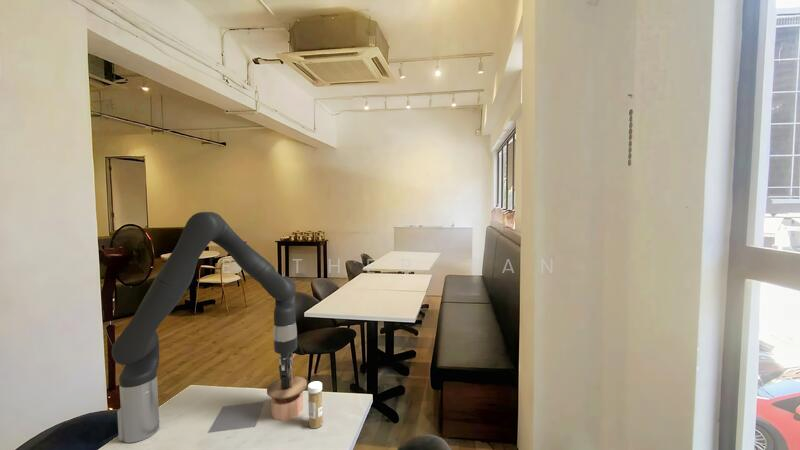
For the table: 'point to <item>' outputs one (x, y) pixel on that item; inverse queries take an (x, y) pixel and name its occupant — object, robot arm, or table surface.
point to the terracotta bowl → (287, 407)
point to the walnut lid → (295, 388)
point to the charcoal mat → (237, 417)
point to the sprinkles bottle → (315, 404)
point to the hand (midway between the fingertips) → (287, 385)
